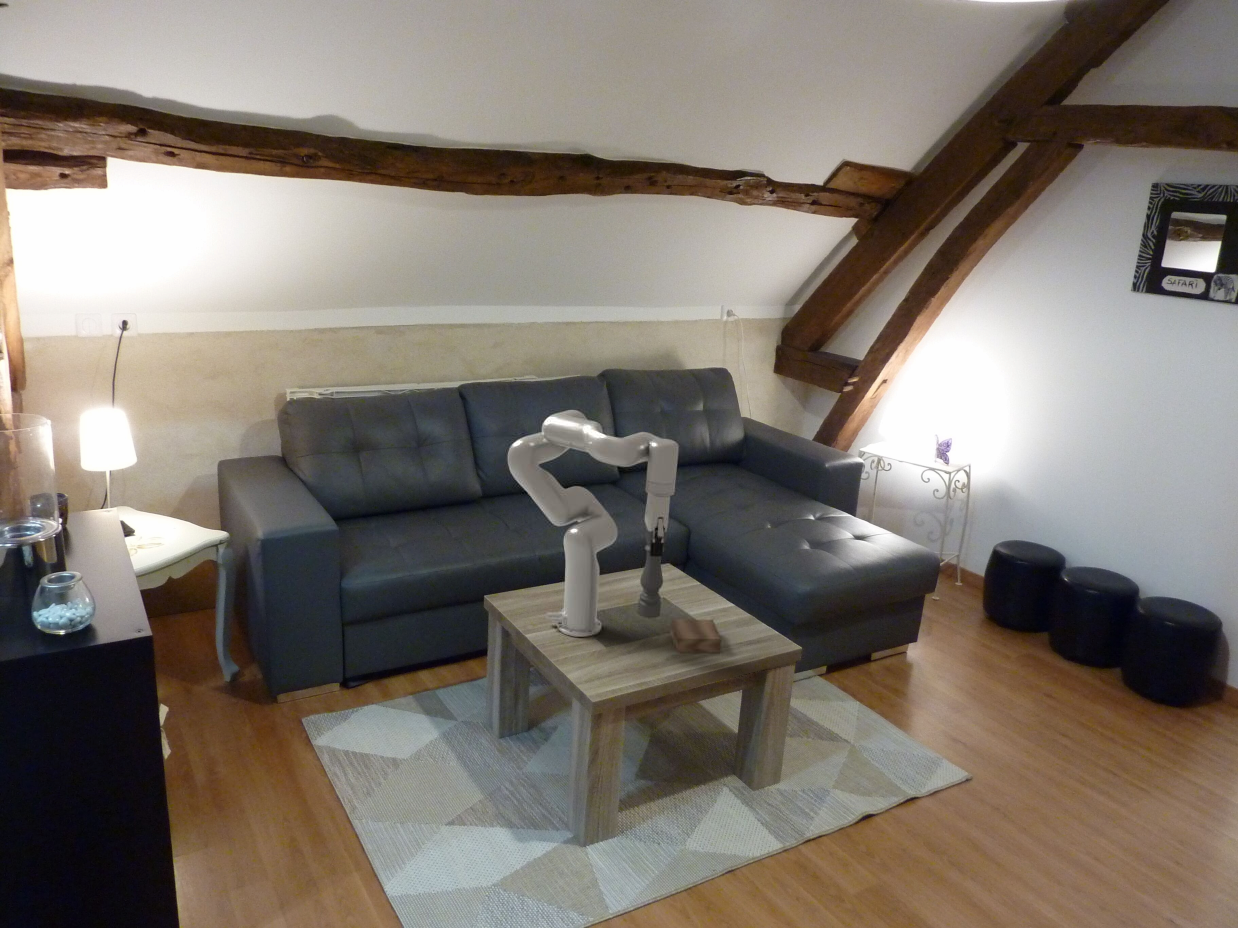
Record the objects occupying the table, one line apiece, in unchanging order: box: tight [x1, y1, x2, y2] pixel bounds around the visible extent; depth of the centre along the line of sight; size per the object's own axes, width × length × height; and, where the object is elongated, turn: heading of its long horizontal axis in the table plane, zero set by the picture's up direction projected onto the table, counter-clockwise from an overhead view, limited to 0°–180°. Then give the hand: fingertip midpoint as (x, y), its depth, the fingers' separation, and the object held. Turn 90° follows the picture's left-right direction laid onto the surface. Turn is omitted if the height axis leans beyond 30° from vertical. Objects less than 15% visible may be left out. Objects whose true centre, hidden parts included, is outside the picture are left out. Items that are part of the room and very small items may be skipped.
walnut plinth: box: [670, 618, 722, 653], centre depth 267 cm, size 12×12×4 cm
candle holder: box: [637, 525, 668, 619], centre depth 254 cm, size 6×6×25 cm
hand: (654, 550), depth 253 cm, fingers closed on candle holder, 5 cm apart
